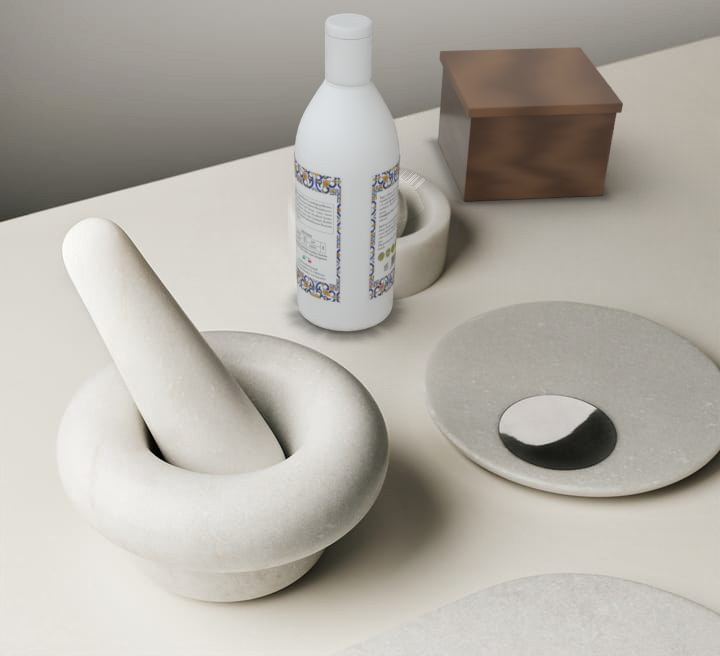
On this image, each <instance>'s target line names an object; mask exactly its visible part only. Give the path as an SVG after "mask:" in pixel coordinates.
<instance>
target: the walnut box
mask: <svg viewBox="0 0 720 656" xmlns="http://www.w3.org/2000/svg"><path fill="white" fill-rule="evenodd" d="M439 62H440V64H441V65H442V74H441V75H442V76H441V77H442V78H441V88H440V89H441V92H440V103H439V107H440V109H439V119H438V136H437V142H438V145H439V148H440V149H441V152H442V154H443V157H444V159H445V162H446V163H447V167H448V168H449V170H450V172H451V175H452V177H453V180H454V182H455V184H456V187H457V188H458V191H459V193H460V196H461V198H462V200H463V202H478V201H479V202H480V201H501V200H504V201H505V200H525V199H526V200H527V199H550V198H574V197H575V198H576V197H577V198H578V197H596V196H597V197H599V196H603V193H604V187H605V184H606V183H605V182H606V176H607V171H608V165H609V159H610V153H611V147H612V141H613V137H614V130H615V125H616V118H617V114H621V113H622V112H623V106H624V103H623V101H622V100H621V99H620V97H619V96H618V95H617V93H615V91H614V89H613V88H612V87H611V86H610V84H609V83H608V82H607V81H606V79H605V78H604V76H603V75H602V74H601V73H600V71H599V70H598V69H597V67H596V66H595V64H594V63H593V61H591V60H590V58H589V56H587V54H586V53H585V51H584V50H583V49H582V47H577V46H576V47H542V48H541V47H540V48H538V47H537V48H503V49H467V50H465V49H464V50H440V51H439Z"/></svg>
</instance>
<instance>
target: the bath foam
mask: <svg viewBox="0 0 720 656" xmlns="http://www.w3.org/2000/svg"><path fill="white" fill-rule="evenodd" d="M324 22H325V23H324V76H325V77H324V80H323V82H322V83H321V85H320V86H319V88H318V89H317V90H316V92H315V93H314V96H313V97H312V98H311V100H310V102H309V103H308V105H307V107H306V108H305V111H304V112H303V115H302V117H301V118H300V121H299V124H298V128H297V131H296V135H295V142H294V143H295V144H294V152H293V159H294V161H293V162H294V165H293V166H294V207H295V208H294V210H295V211H294V213H295V215H294V217H295V221H294V223H295V265H296V266H295V273H296V275H295V276H296V303H297V308H298V310H299V313H300V314H301V316H302V317H303V318H304V319H306V320H307V321H308V322H310V324H313V325H315V326H317V327H319V328H322V329H326V330H330V331H334V332H335V331H337V332H354V331H355V332H356V331H362V330H367V329H370V328H372V327H375V326H377V325H379V324H380V323H382V322H383V321H385V320H386V319H387V317H388V316H389V315H390V313H391V311H392V310H393V305H394V293H395V291H394V290H395V289H394V288H395V275H396V251H397V232H398V231H397V230H398V212H399V211H398V208H399V190H400V189H399V187H400V171H401V170H400V169H401V167H400V165H401V164H400V163H401V153H400V152H401V151H400V140H399V134H398V129H397V127H396V123H395V121H394V118H393V115H392V113H391V111H390V109H389V107H388V106H387V104H386V102H385V100H384V99H383V97H382V95H381V94H380V92H379V90H378V89H377V87H376V85H375V84H374V82H373V80H372V69H373V39H374V36H373V35H374V23H373V20H372V19H371V18H370V17H368V16H366V15H364V14H359V13H352V12H351V13H349V12H345V13H336V14H333V15H330V16H328V17H327V18H326V20H325V21H324Z"/></svg>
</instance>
